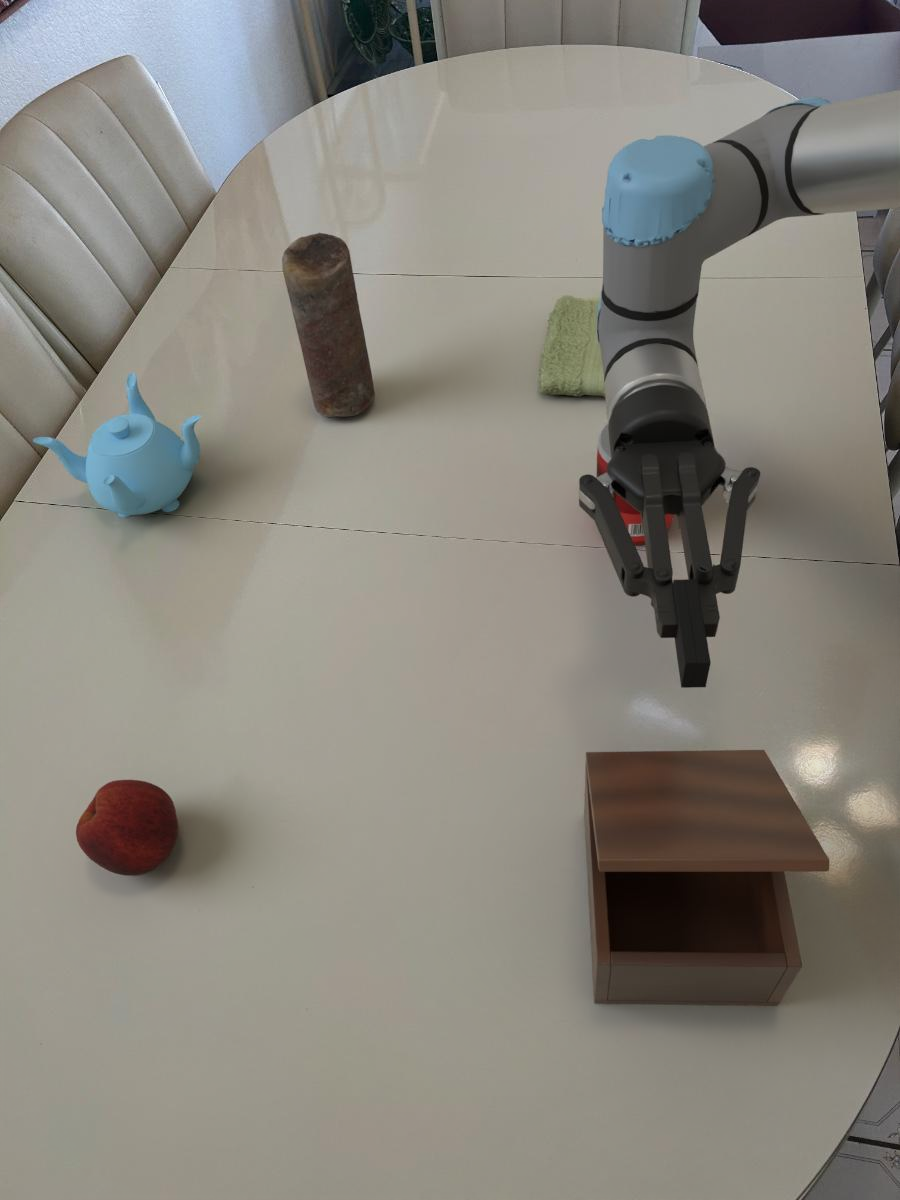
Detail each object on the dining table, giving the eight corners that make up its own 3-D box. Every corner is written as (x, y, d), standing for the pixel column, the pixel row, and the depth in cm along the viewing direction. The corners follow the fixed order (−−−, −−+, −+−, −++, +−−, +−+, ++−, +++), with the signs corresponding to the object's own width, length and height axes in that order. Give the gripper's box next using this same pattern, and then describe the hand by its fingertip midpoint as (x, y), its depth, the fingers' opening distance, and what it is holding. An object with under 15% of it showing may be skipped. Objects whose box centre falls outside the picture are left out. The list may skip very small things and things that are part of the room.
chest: (778, 1006, 66) (802, 966, 59) (594, 1003, 67) (597, 965, 60) (745, 811, 75) (763, 757, 68) (584, 812, 76) (585, 759, 69)
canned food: (688, 513, 95) (700, 431, 86) (641, 560, 92) (648, 480, 83) (627, 480, 99) (632, 399, 90) (579, 524, 96) (581, 444, 87)
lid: (829, 872, 52) (829, 859, 52) (598, 872, 54) (598, 859, 54) (764, 759, 68) (764, 749, 67) (585, 761, 69) (585, 751, 69)
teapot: (230, 484, 105) (203, 415, 97) (135, 555, 99) (98, 488, 91) (161, 438, 111) (130, 369, 103) (69, 503, 105) (28, 435, 97)
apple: (135, 793, 81) (99, 747, 75) (210, 821, 79) (179, 777, 73) (84, 870, 77) (42, 829, 71) (162, 902, 75) (125, 863, 69)
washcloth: (656, 313, 116) (658, 291, 114) (645, 407, 106) (647, 384, 103) (551, 310, 119) (551, 287, 116) (530, 400, 108) (529, 378, 106)
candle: (384, 385, 113) (355, 232, 97) (371, 426, 108) (338, 272, 93) (324, 383, 114) (285, 231, 98) (308, 423, 110) (265, 271, 94)
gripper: (737, 451, 74) (794, 705, 59) (571, 459, 75) (587, 710, 61) (751, 374, 68) (818, 636, 54) (571, 385, 69) (589, 642, 55)
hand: (695, 675), depth 57 cm, fingers closed
